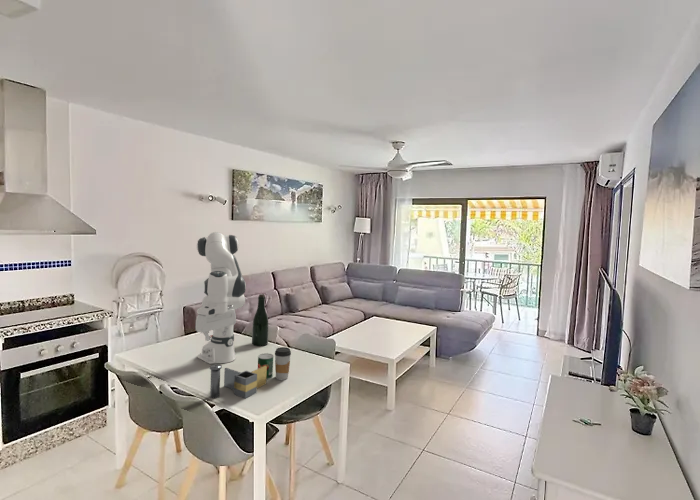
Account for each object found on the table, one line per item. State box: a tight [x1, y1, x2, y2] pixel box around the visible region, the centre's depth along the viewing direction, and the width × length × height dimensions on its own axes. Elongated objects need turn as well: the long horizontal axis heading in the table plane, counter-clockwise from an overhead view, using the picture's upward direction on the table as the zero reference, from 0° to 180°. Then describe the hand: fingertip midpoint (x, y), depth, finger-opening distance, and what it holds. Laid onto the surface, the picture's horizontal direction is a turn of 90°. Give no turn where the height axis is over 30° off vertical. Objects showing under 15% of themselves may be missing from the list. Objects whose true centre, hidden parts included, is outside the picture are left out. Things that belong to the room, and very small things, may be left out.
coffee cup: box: [274, 346, 292, 381], centre depth 196 cm, size 8×8×15 cm
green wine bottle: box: [251, 293, 269, 347], centre depth 246 cm, size 10×10×33 cm
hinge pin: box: [209, 363, 223, 399], centre depth 172 cm, size 5×5×14 cm
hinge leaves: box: [223, 366, 267, 399], centre depth 183 cm, size 17×17×9 cm
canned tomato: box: [257, 352, 275, 380], centre depth 196 cm, size 8×8×11 cm
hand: (216, 337), depth 170 cm, fingers open, 8 cm apart
